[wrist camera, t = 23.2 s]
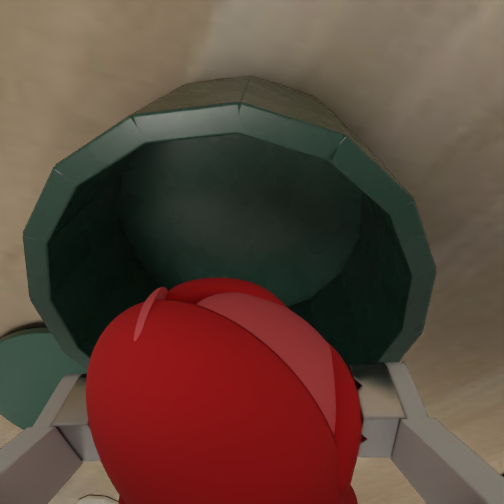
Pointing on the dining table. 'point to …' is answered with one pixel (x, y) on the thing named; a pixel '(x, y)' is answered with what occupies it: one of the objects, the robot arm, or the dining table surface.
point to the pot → (231, 220)
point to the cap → (222, 401)
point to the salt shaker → (96, 500)
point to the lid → (30, 374)
